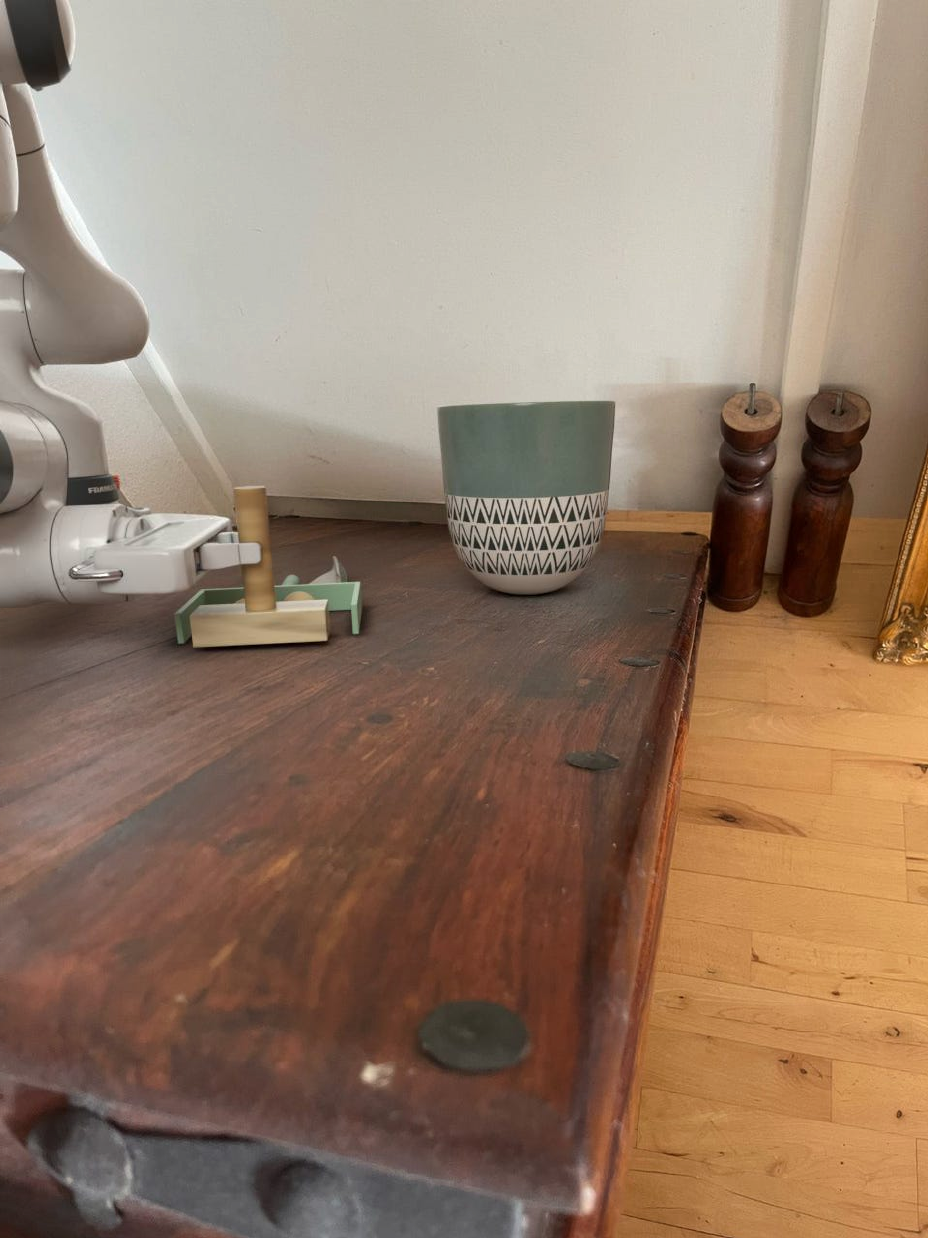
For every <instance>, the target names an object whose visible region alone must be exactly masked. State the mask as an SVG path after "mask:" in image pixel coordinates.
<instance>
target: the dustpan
mask: <svg viewBox="0 0 928 1238" xmlns="http://www.w3.org/2000/svg"><path fill="white" fill-rule="evenodd" d="M300 583H301V582H300V579H299V577H298V576H297V575H295V574H289V575H287V576H286V577H285V579H284V580H283V582H282V583H281V585H275V593H276V602H283V601H284V599H285V598H286V597H287V596H288V595H289V594H291V593H293V592H297V591H302V592H306V593H308V594H310V595H311V596H312V597H313V598H314V599H315V600H328V604H329V612H333V611H350V613H351V614H350V615H351V630H352V635H359V634H360V627H361V619H362V611H363V602H362V601H363V600H362V586H361V581H349V582H348V581H347V582H344V583H324V584H310V583H306V584H300ZM240 599H244V589H243V586H242V587H226V588H225V587H224V588H223V587H222V588H221V587H220V588H203V589H200V590H198V591H197V592H196V593H195V594H194V595H193V596H192V597H191V598H190V599H189V600H188V601H186V603H184V604H183V605H182V606H181V607H180V608H179V609H178V610H176V612H174V613H173V616H174V621H175V622H174V624H175V631H176V632H175V633H176V639H177V644H178V645H182V644H185V643H187V641H188V640H189V639H190V638H191V637H192V633H191V624H190V615H191V614H192V613H193V612H194V611H195V610H196V609H197V608H198V607H199V606H200V605H217V604H234V603H235V602H237V601H238V600H240Z"/></svg>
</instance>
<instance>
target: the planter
mask: <svg viewBox="0 0 928 1238" xmlns="http://www.w3.org/2000/svg"><path fill="white" fill-rule="evenodd" d="M436 413H437V414H436V415H437V417H436V418H437V430H438V440H439V449H440V457H441V458H440V461H441V471H442V474H441V475H442V484H443V492H444V493H443V494H444V505H445V513H446V522H447V528H448V533H449V536H450V540H451V542H452V545H453V548H454V550H455V553H456V555H457V557H458V559H459V560H460V562H461V564H463V566H464V567H465V569H466V570H467V571H468V572H469V573H470V574H471V575H472V576H473V577H475V579H477V580H478V581H479V582H481V583H482V584H483V585H485V586H487V587H488V588H490V589H492V590H495V591H498V592H501V593H505V594H511V595H519V596H520V595H526V596H531V595H541V594H547V593H551V592H554V591H557V590H559V589H562V588H564V587H566V586H567V585H569V584H571V583H572V582H573V581H575V579H577V578H578V577H579V576H580V575H581V574H583V572H584V571H585V570H586V569H587V568H588V566H589V565H590V564H591V563H592V561H593V560H594V558H595V556H596V555H597V553H598V551H599V548H600V547H601V543H602V540H603V538H604V537H603V536H604V532H605V528H606V524H607V516H608V508H609V495H610V494H609V493H610V486H611V485H610V484H611V483H610V482H611V473H612V471H611V469H612V457H613V446H614V445H613V444H614V432H615V418H616V401H615V400H561V401H560V400H557V401H555V400H554V401H522V402H521V401H519V402H495V403H494V402H493V403H492V402H491V403H471V404H470V403H469V404H468V403H467V404H451V405H439V406H437V407H436Z"/></svg>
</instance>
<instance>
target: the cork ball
mask: <svg viewBox="0 0 928 1238" xmlns="http://www.w3.org/2000/svg"><path fill="white" fill-rule="evenodd" d="M305 600H315V599H314V598H313V597H312V596H311V595H310V594H308V593H306V592H302V591H297V592H293V593H291V594H289V595H288V596H287V597H286V598H285V599H284V601H305Z"/></svg>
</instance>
